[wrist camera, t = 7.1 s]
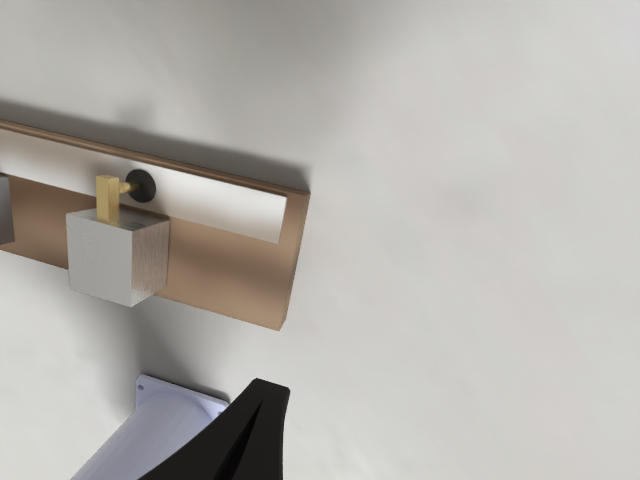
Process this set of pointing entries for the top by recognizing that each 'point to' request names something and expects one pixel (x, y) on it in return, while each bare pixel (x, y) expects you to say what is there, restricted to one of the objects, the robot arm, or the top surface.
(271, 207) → the gauge board
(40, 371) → the top surface
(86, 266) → the block
